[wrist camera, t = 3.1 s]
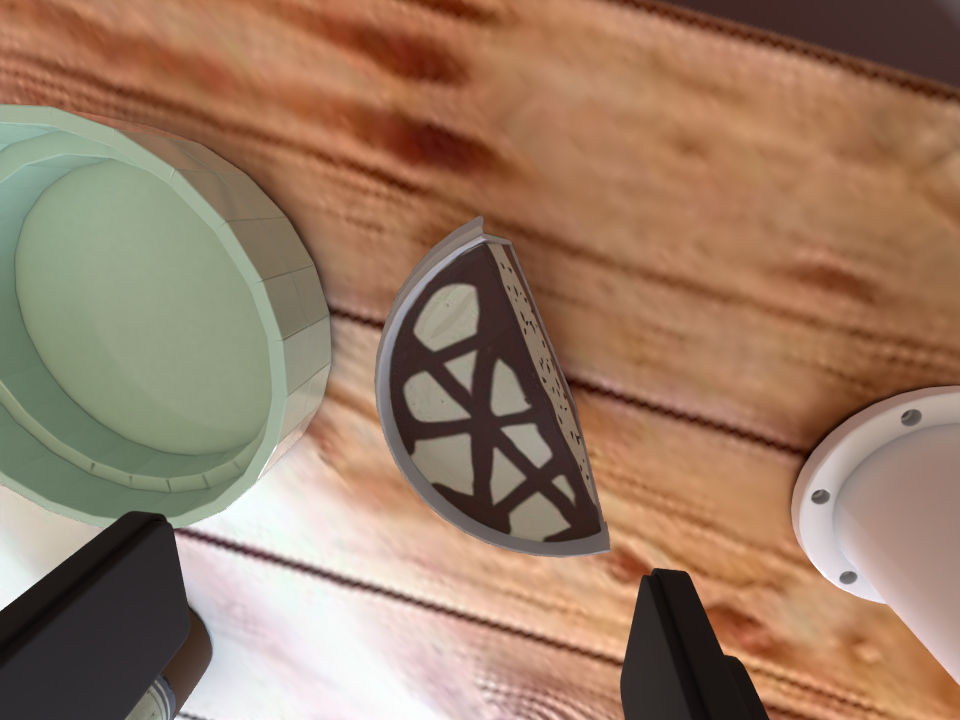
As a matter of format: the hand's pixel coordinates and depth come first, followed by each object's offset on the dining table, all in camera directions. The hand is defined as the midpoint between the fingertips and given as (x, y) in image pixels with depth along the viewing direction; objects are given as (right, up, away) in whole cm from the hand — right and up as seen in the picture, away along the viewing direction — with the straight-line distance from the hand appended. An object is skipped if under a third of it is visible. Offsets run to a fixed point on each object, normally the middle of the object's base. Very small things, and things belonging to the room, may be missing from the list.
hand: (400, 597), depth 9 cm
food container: (+2, +5, +15) cm, 17 cm away
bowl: (-16, +7, +17) cm, 24 cm away
